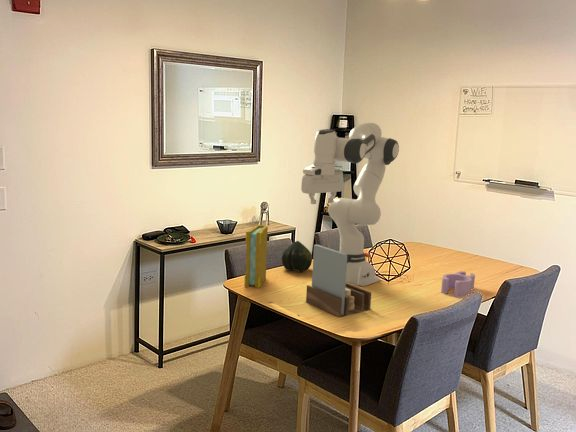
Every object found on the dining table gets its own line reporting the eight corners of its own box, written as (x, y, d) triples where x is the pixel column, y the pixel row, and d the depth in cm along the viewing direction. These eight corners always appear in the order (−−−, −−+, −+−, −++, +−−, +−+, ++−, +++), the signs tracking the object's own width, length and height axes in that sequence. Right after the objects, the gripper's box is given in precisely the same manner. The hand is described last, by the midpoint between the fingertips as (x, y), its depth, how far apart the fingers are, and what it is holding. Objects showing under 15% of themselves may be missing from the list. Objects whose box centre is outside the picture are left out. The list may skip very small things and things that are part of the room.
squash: (295, 265, 276) (308, 239, 281) (272, 260, 285) (285, 235, 291) (309, 280, 285) (321, 255, 291) (286, 275, 295) (298, 250, 300)
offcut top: (334, 289, 239) (335, 283, 238) (350, 295, 231) (350, 289, 230) (325, 290, 236) (325, 284, 236) (340, 297, 228) (341, 291, 227)
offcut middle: (332, 294, 239) (333, 289, 239) (354, 303, 230) (354, 296, 230) (324, 297, 236) (324, 291, 235) (345, 305, 227) (345, 299, 227)
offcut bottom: (330, 299, 241) (331, 293, 240) (354, 309, 230) (354, 303, 229) (321, 301, 238) (322, 295, 237) (345, 311, 227) (345, 305, 226)
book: (258, 287, 257) (260, 232, 253) (244, 286, 259) (245, 231, 254) (267, 277, 274) (269, 225, 269) (254, 276, 275) (255, 224, 270)
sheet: (313, 301, 238) (316, 244, 234) (343, 314, 224) (347, 254, 219) (310, 301, 237) (313, 244, 233) (340, 315, 223) (344, 254, 219)
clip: (455, 283, 277) (456, 269, 276) (480, 289, 269) (481, 275, 268) (435, 292, 262) (437, 277, 261) (461, 299, 254) (463, 283, 253)
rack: (336, 298, 248) (337, 279, 246) (371, 312, 231) (373, 292, 230) (303, 305, 237) (304, 285, 235) (338, 321, 221) (339, 300, 219)
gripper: (337, 168, 244) (336, 200, 247) (299, 169, 232) (298, 203, 235) (348, 169, 239) (346, 202, 242) (309, 171, 227) (308, 206, 230)
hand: (322, 203), depth 238 cm, fingers open, 8 cm apart
